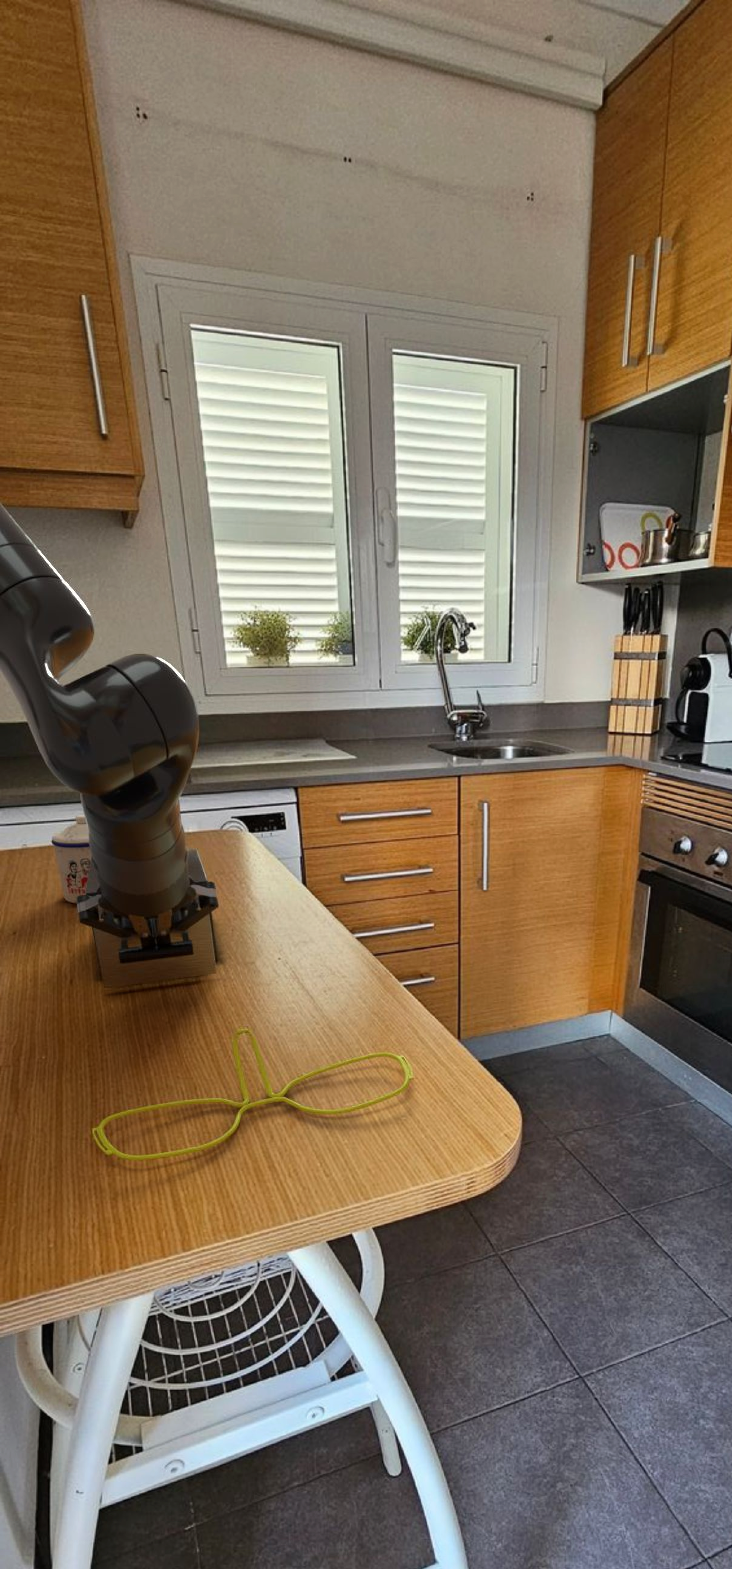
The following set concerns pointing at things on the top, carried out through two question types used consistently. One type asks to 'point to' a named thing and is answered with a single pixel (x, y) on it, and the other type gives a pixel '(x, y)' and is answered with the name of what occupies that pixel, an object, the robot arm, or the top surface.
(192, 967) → the silver drawer with handle
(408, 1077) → the glasses
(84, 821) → the teacup with lid
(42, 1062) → the top surface
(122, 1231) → the top surface
